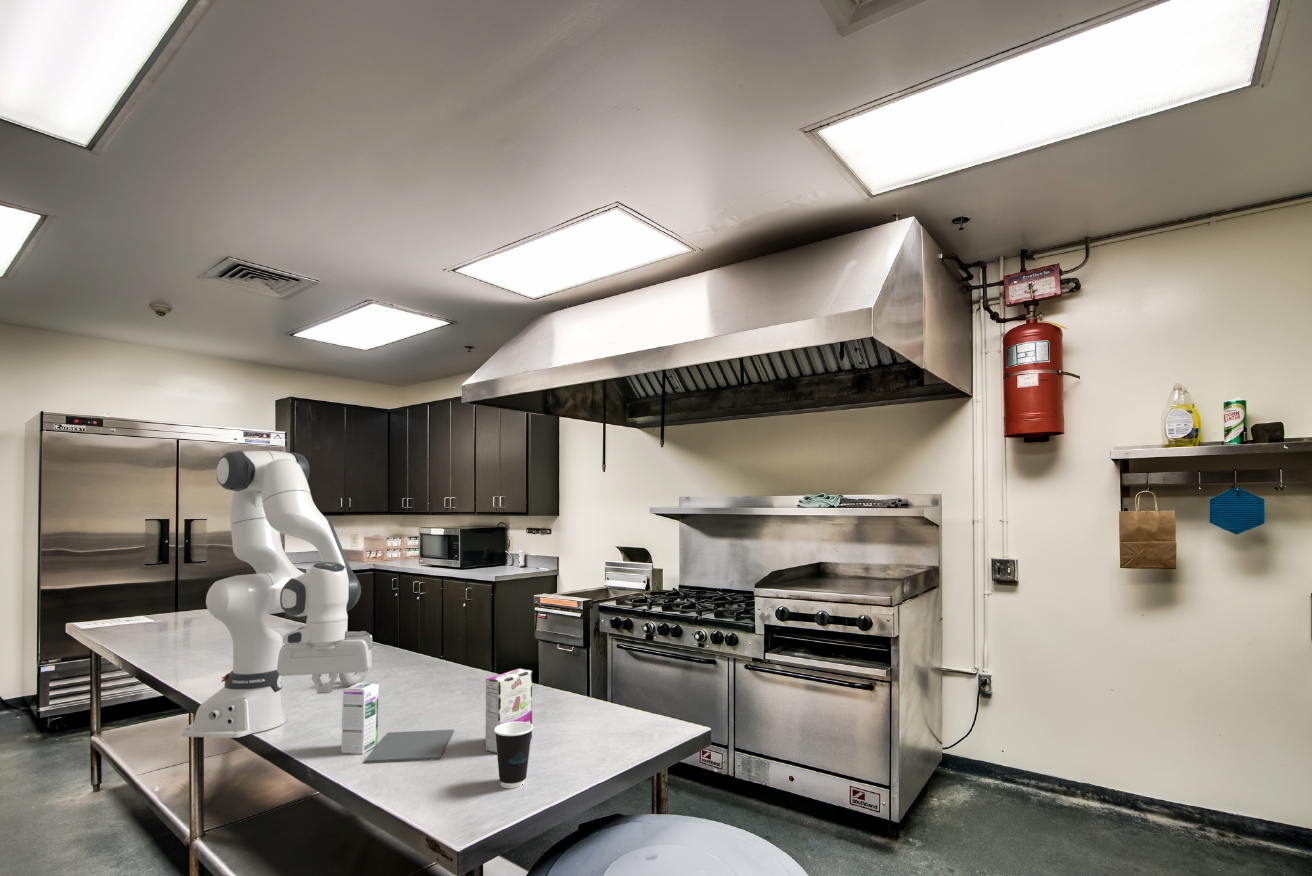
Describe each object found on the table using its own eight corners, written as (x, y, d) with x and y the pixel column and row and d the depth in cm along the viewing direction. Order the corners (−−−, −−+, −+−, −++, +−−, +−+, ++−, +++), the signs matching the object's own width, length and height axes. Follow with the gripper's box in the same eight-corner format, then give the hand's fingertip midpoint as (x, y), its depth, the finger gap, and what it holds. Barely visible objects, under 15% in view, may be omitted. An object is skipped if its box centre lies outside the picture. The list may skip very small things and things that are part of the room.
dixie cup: (518, 794, 128) (519, 736, 129) (484, 788, 131) (486, 731, 132) (539, 778, 135) (540, 723, 136) (507, 773, 138) (508, 719, 139)
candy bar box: (517, 736, 160) (518, 667, 162) (532, 739, 158) (533, 670, 159) (483, 750, 151) (485, 677, 153) (498, 755, 148) (500, 680, 150)
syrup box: (362, 754, 148) (365, 689, 150) (339, 753, 150) (342, 688, 151) (377, 745, 154) (380, 682, 156) (355, 744, 155) (358, 681, 157)
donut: (342, 690, 200) (344, 657, 201) (335, 689, 202) (337, 656, 203) (370, 682, 209) (371, 650, 210) (363, 681, 211) (364, 649, 212)
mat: (364, 763, 143) (364, 760, 144) (387, 735, 161) (387, 732, 161) (439, 759, 146) (439, 756, 146) (454, 731, 163) (454, 729, 163)
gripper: (376, 628, 158) (374, 687, 156) (287, 631, 155) (284, 691, 154) (368, 633, 152) (366, 694, 150) (275, 636, 149) (272, 699, 148)
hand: (324, 693), depth 152 cm, fingers closed
